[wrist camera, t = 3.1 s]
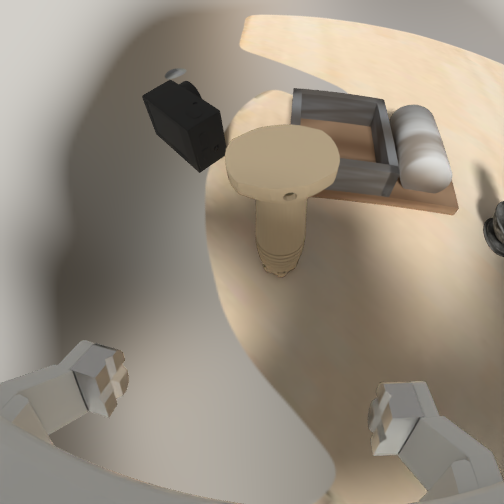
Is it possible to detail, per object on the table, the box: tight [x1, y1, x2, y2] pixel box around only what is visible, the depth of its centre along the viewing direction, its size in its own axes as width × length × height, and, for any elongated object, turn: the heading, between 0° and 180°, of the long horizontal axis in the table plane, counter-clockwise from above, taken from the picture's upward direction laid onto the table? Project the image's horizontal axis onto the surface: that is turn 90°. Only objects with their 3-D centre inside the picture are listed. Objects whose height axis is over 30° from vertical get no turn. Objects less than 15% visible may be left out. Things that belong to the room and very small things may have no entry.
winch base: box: [291, 88, 459, 215], centre depth 32 cm, size 12×20×7 cm, turn 82°
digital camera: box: [143, 80, 226, 173], centre depth 36 cm, size 10×5×7 cm, turn 42°
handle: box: [225, 125, 340, 277], centre depth 24 cm, size 5×6×15 cm
